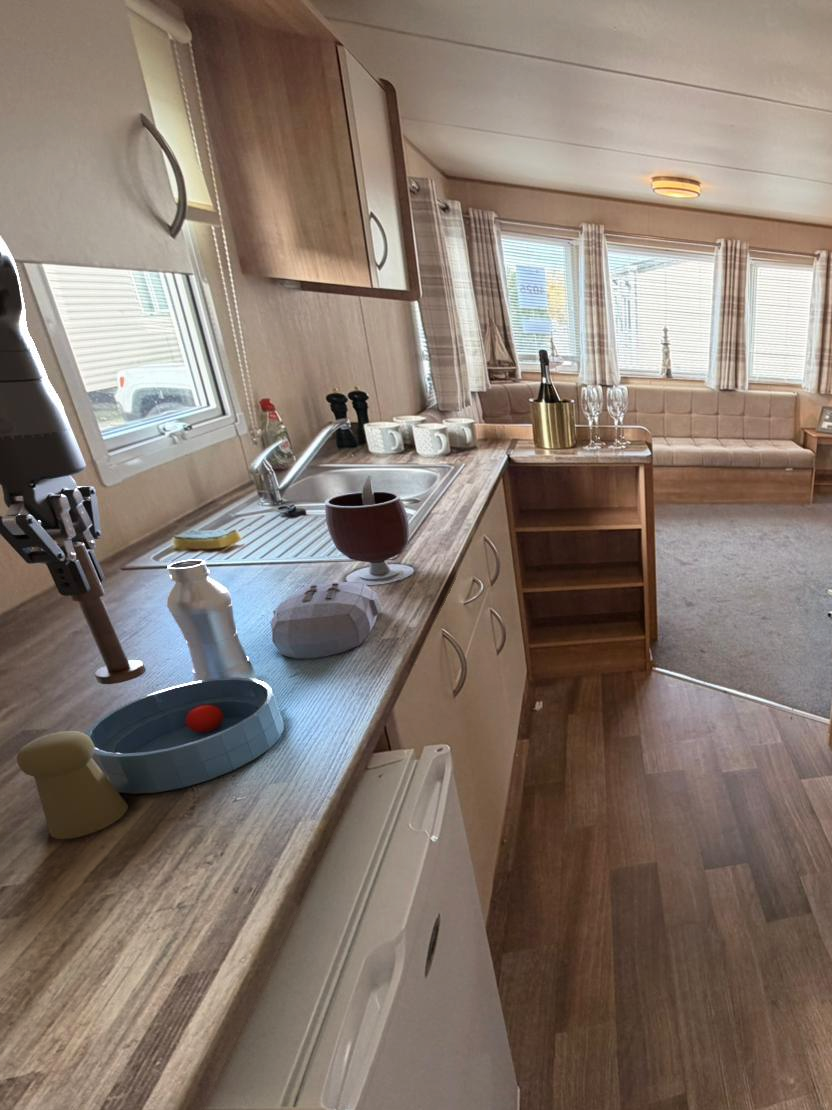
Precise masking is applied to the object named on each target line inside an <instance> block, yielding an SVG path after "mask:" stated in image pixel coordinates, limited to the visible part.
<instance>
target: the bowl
mask: <svg viewBox="0 0 832 1110" xmlns="http://www.w3.org/2000/svg"><path fill="white" fill-rule="evenodd" d="M202 705H212V706H215V707H217V708H219V709H220V710H221V711H222V713H223V722H222V724H221V725H220V726H219V727H218V728H217V729H215V730H213V731H211V732H207V733H197V732H194V731H192V730H190V729H189V728H188V726H187V725H186V717H187V715H188V713H189V712H190V711H191V710H192V709H194V708H196V707H198V706H202ZM284 730H285V725H284V720H283V717H282V714H281V711H280V708H279V704H278V701H277V699H276V695H275V693H274V689H273V687H271V686H270V685H269V684H268V683H267V682H265V681H262V680H258V679H250V678H239V677H236V678H217V679H210V680H203V681H196V682H194V681H191V682H188V683H183V684H178V685H174V686H171V687H168V688H165V689H161V690H158V691H155V692H151V693H149V694H146V695H144V696H141V697H139V698H136V699H134V700H133V699H132V700H131V701H129V702H126V703H124V704H122V705H121V706H119V707H117V708H115V709H112V710H110V711H109V712H108V713H106V714H105V715H103V716H101V717H100V718H99V719H97V720H95V722H93V723H92V725H90V727H88V729H87V730H86V731H85V732H84V734H86V735H87V736H88V737H90V739H91V740H92V742H93V744H94V749H95V751H94V754H93V756H92V759H93V760H94V761H95V763H96V764H97V765H98V767H99V768H100V769H101V771H102V772H103V773H104V775H105V776H106V777H107V778H108V780H109V781H110V782H111V784H112V785H113V786H114V788H115V789H116V790H117V792H118V793H124V794H130V795H131V794H132V795H138V794H139V795H141V794H155V793H163V792H166V791H167V792H168V791H173V790H177V789H178V790H179V789H183V788H187V787H190V786H194V785H197V784H201V783H204V782H207V781H210V780H212V779H215V778H218V777H220V776H222V775H225V774H228V773H230V772H233V771H234V770H237V769H238V768H241V767H243V766H244V765H246V764H249V763H250V762H252V761H254V760H256V759H257V758H258V757H260V756H261V755H262V754H264V753H266V752H268V750H270V749H271V748H272V747H273V745H275V743H276V742H278V741H279V740H280V738H281V736H282V734H283V732H284Z"/></svg>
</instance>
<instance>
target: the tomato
mask: <svg viewBox="0 0 832 1110" xmlns="http://www.w3.org/2000/svg"><path fill="white" fill-rule="evenodd" d="M222 722H223V713H222V711H221V710H220V709H219V708H217V707H215V706H212V705H202V706H198V707H196V708H194V709H192V710H191V711H190V712H189V713H188V715H187V717H186V725H187V726H188V728H189V729H190V730H192V731H194V732H197V733H207V732H211V731H213V730H215V729H217V728H218V727H219V726H220V725H221V724H222Z"/></svg>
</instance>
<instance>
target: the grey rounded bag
mask: <svg viewBox="0 0 832 1110" xmlns="http://www.w3.org/2000/svg"><path fill="white" fill-rule="evenodd" d="M377 593H378V592H377V591H374V590H373V589H372V588H370V587H369V585H365V584H364V583H359V582H347V581H333V582H325V583H318V584H313V585H309V586H306V587H303V588H300V589H299V590H297V591H295V592H294V593H292V594H291V595H290V596H289V597H287V598H286V599H285V600H284V601H281V602H280V603H279V604H278V605H277V606H276V608H275V609H274V610H273V611H272V612H273V616H272V618H271V620H270V622H269V623H270V627H271V633H272V635H271V636H272V640H271V642H272V643H273V645H274V646H275V647H276V649H277V650H278V651H279V653H280V654H281V656H285V657H289V658H293V659H299V660H300V659H316V658H317V659H319V658H323V657H328V656H333V655H337V654H342V653H344V652H347V651H349V650H351V649H354V648H356V647H359V646H361V644H362V643H363V642H364V640H365V639H366V637H367V636H368V635H369V634H370V633H371V631H372V629H373V627H374V625H375V623H376V621H377V616H378V615H379V614H380V611H381V602H380V599H379V597H378V594H377Z"/></svg>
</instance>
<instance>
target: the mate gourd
mask: <svg viewBox="0 0 832 1110" xmlns="http://www.w3.org/2000/svg"><path fill="white" fill-rule="evenodd" d="M372 483H373V482H372V476H371V475H366V478H365V480H364V482H363V485H362V491H355V492H348V493H343V494H338V495H334V496H331V497H328V498H327V499H325V500H324V504H325V508H324V514H325V521H326V525H327V529H328V533H329V536H330V538H331V540H332V542H333V545H334V546H335V548H336V550H337V551H339V552H340V553H341V554H342V555H344V556H345V557H347V558H348V560H349V559H350V560H351V561H358V562H362V563H363V562H364V563H370V564H369V566H367V567H364V568H360V569H357V570H355V571H353V572H351V573H349V574H348V575H347V576H346V578H345V582H359V583H364V584H365V585H367V586H377V585H378V586H379V585H385V584H390V583H395V582H398V581H402V580H404V579H407V578H408V577H410V576H411V575H413V573H414V572H415V570H414V567H412V566H410V565H405V564H398V563H397V564H396V563H393V564H392V563H391V564H388V563H387V562H386V561H387V560H389V559H392V558H394V557H396V556H398V555H400V554H401V553H403V551H404V550H405V548H406V547H407V544H408V543H409V540H410V539H409V537H410V523H409V519H408V514H407V511H406V508H405V505H404V502H403V500H402V499H401V495H400V494H399V493H397V492H393V491H386V490H385V491H384V490H374V486H373V484H372Z"/></svg>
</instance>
